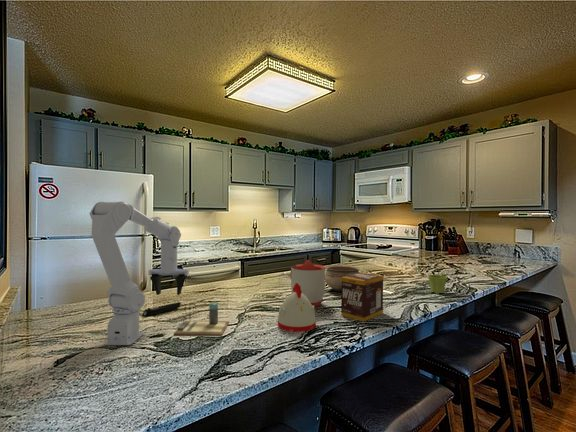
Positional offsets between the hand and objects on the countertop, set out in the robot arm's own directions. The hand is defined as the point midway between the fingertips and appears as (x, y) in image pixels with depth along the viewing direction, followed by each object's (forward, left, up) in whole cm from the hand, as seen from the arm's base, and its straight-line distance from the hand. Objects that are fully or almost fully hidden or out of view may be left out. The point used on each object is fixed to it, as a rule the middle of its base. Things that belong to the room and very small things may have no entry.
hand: (168, 294), depth 116 cm
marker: (-5, -18, -9) cm, 21 cm away
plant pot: (+45, -123, -10) cm, 131 cm away
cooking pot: (+48, -74, -10) cm, 89 cm away
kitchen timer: (-3, -48, -10) cm, 49 cm away
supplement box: (+9, -75, -10) cm, 76 cm away
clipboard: (-8, -15, -10) cm, 20 cm away
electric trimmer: (+10, +7, -10) cm, 16 cm away
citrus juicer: (+23, -53, -10) cm, 59 cm away
